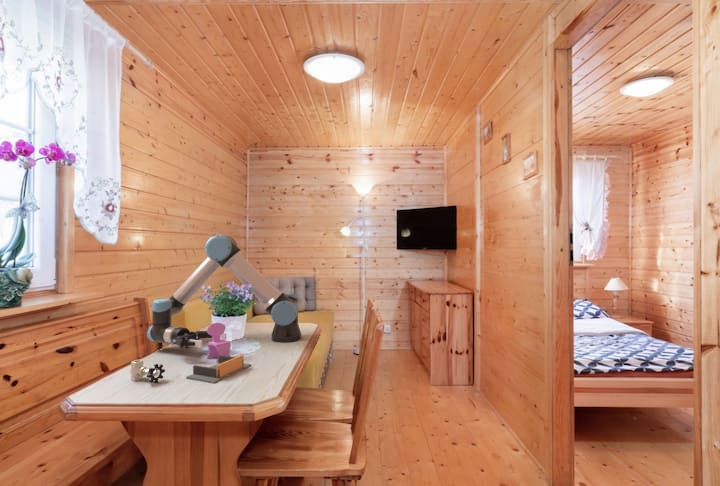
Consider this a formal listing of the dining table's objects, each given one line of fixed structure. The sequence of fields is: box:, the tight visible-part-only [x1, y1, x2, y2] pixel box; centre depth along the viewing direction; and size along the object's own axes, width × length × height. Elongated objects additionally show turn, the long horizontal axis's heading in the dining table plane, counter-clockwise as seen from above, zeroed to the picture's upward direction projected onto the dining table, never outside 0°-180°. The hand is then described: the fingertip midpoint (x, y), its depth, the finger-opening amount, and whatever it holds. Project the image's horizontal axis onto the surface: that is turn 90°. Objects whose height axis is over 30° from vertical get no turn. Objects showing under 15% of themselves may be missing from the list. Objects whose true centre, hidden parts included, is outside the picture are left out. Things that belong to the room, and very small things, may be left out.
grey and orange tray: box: [185, 354, 252, 384], centre depth 139 cm, size 20×13×5 cm, turn 158°
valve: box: [129, 359, 166, 384], centre depth 131 cm, size 7×7×12 cm
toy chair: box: [206, 322, 232, 364], centre depth 155 cm, size 8×9×15 cm
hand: (214, 340), depth 155 cm, fingers open, 13 cm apart
